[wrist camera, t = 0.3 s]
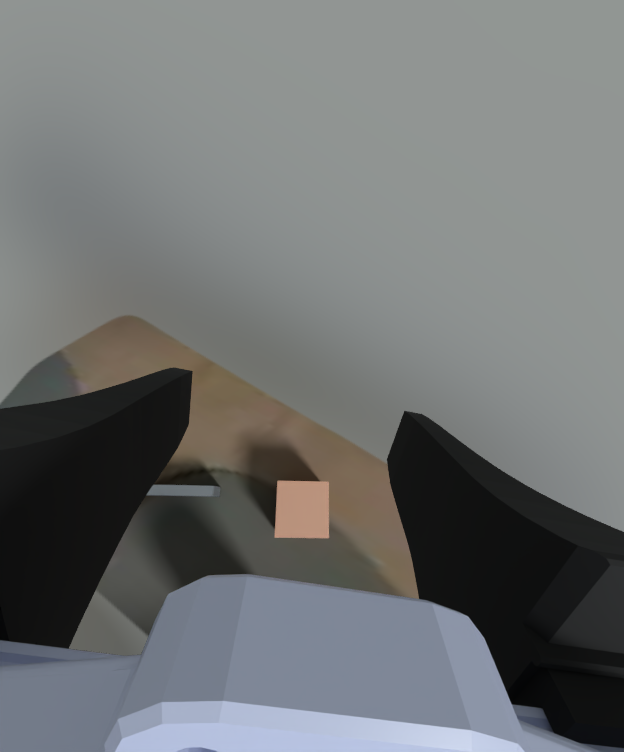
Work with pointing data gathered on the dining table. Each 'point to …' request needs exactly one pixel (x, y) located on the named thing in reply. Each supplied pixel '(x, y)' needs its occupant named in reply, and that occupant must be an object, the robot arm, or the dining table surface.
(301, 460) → the dining table surface
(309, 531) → the salmon box
